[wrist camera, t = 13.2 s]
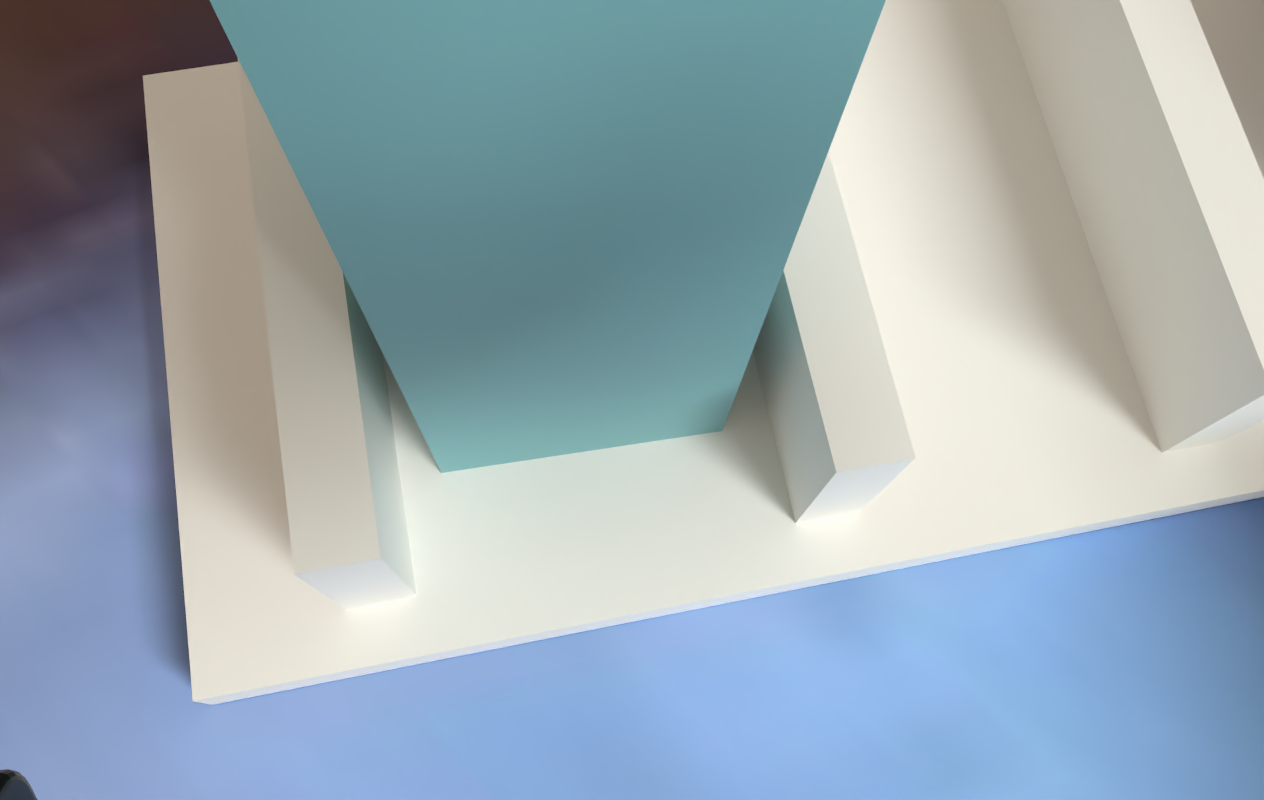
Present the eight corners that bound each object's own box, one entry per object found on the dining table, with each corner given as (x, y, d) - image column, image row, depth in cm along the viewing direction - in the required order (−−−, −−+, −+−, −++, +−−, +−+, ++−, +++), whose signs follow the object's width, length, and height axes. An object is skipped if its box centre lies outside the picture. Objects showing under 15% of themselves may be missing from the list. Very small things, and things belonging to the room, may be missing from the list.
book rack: (1517, 447, 22) (2225, 195, 12) (211, 704, 20) (-144, 636, 10) (1286, -64, 26) (1700, -562, 16) (161, 104, 23) (-136, -361, 14)
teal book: (722, 430, 20) (922, -98, 8) (441, 472, 20) (201, -17, 8) (668, 160, 22) (767, -621, 10) (408, 194, 22) (167, -576, 9)
